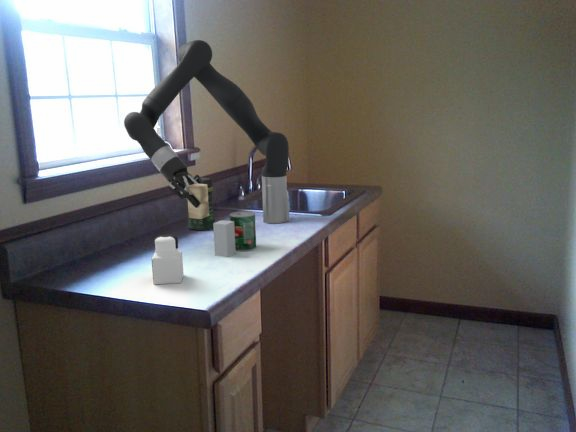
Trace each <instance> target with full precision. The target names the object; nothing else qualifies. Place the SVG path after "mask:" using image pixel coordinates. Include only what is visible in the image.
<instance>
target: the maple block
mask: <svg viewBox="0 0 576 432" xmlns="http://www.w3.org/2000/svg"><path fill="white" fill-rule="evenodd" d="M189 189H190V191H191V192H192V195H194V196H195V197H196V198H197V199H198V200H199V202H200V203H201V204H200V205H199V207H197V208H195V207H194V206H193V205H192V204H191V202H190V201H189V200H188V201H187V212H188V211H189V218H196V219H202V218H205V217H207V216H209V203H208V188H207V184H192V185H190V186H189Z"/></svg>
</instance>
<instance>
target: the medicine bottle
mask: <svg viewBox="0 0 576 432" xmlns="http://www.w3.org/2000/svg"><path fill="white" fill-rule="evenodd" d="M153 243H154V254H153V256H152V257H151V268H152V280H153V285H167V284H171V285H172V284H182V280H183V277H184V263H183V251H182V250H181V249H179V239H178V236H176V235H174V234H171V233H170V234H169V233H168V234H167V233H165V234H161V235H158V236H156V237H154V239H153Z"/></svg>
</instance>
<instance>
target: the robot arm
mask: <svg viewBox="0 0 576 432" xmlns="http://www.w3.org/2000/svg"><path fill="white" fill-rule="evenodd" d="M177 57H178V61H179V63H178V64H177V65H176V67H175V68H174V69H173V70H172V71H171V72H169V74H168V75H167V76H165V77H164V78H163V79H162V80H161V81H160V82H158V84H157V85H156V86H155V87H154V88H153V89H152V90H151V91H150V92H149V93H148V95H147V96H146V98H144V99H143V101H142V104H141V110H140V112H138V111H132V112H129V113H128V114H127V115H126V116H125V117H124V120H123V126H124V128H125V130H126V133H127V134H128V136H129V137H130V139H132V140H133V141H136V142H137V143H138V144H139V145H140V147H141V149H142V151H143V152H144V154H145V155H146V156H147V157H148V158H149V159H150V161H151V162H152V164H153V166H154V167H156V170H158V171H159V173H160V174H161V175H162V177H163V178H165V180H166V181H167V182H168V183H169V185H168V186H167V187H168V189H169V190H170V191H172V192H173V193H174V194H175V195H176V196H177V197H178V198H180V199H181V200H184V199H186V201H187V200H189V201H190V202H191V204H192V205H193V206H194V207H195V208H197V207H199V205H200V204H201V203H200V202H199V200H198V199H197V198H196V197H195V196H194V195H192V192H191V191H190V189H189V186H190V185H192V184H204V183H203V182H202V180H201V178H200V177H201V176H200V175H199V174H196V175H195V176H194V175H192V174H191V173H189V172H188V166H187V164H185V162H184V161H183V160H182V159H181V158H180V156H179V155H178V154H177V153H176V152H175V151H174V149H172V148H171V147H170V146H169V145H168V143H167V142H166V141H165V140H164V139H163V138H162V137H161V136H160V135H159V134H158V133H157V131H156V130H155V127H156V125H157V122H158V121H159V119H160V117H161V116H162V115H163V113H164V112H165V111H166V110H167V108H169V106H170V105H171V104H172V102H173V101H174V100H175V99H176V98H177V96H178V95H179V94H180V93H181V91H182V90H183V89H184V88H185V87H186V86H187V85H188V84H189V83H190V82H191V81H192V80H193V79H195V80H197V81H198V82H199V83H200V84H201V86H202V87H204V89H206V91H207V92H208V93H209V94H210V95H211V97H212V98H213V99H214V100H215V101H216V102H217V103H218V105H219V106H220V107H221V109H223V110H224V112H225V113H226V114H227V115H228V116H229V117H230V118H231V119H232V120H233V121H234V122H235V123H236V125H238V126H239V127H240V129H241V130H242V131H244V133H246V135H247V136H248V138H249V139H250V140H251V142H252V143H253V144H254V146H255V148H256V149H257V150H258V151H259V153H260V154H261V155H263V156H265V165H264V166H263V167H262V169H261V192H262V195H261V196H262V198H261V199H262V221H263V223H266V224H281V223H286V222H290V200H289V199H290V197H289V195H288V186H287V185H288V184H287V183H288V181H287V170H288V169H289V161H290V160H289V155H290V153H289V150H290V149H289V141H288V138H287V136H286V135H285V134H283V133H281V132H276V131H272V130H271V129H269V128H268V126H266V124H265V123H263V122H262V120H261V118H260V117H259V116H258V114H257V111H256V108H255V107H254V104H253V103H252V100H251V99H250V98H249V97H248V95H247V94H246V92H244V91H243V90H242V89H241V88H240V87H239V86H238V85H237V84H236V83H234V82H233V81H232V80H230V79H229V78H227V77H225V76H224V75H223V74H221V73H220V72H219V71H217V70H216V69H215V67H214V66H213V65H212V64H211V62H212V58H213V50H212V48H211V45H210V44H209V43H208V42H207V41H205V40H202V39H196V40H192V41H188V42H186V43H184V44H183V45H181V46H180V47H179V48H178V51H177ZM209 202H210V199H209V197H208V203H209Z"/></svg>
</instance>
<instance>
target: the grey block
mask: <svg viewBox="0 0 576 432" xmlns="http://www.w3.org/2000/svg"><path fill="white" fill-rule="evenodd" d="M212 229H213V242H214V246H213V247H214V256H215V257H221V258H222V257H223V258H229V257H231V256H233V255H235V254H236V252H237V251H235V230H234V221H230V220H224V219H222V220H218V221H215V223H213V228H212Z"/></svg>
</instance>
